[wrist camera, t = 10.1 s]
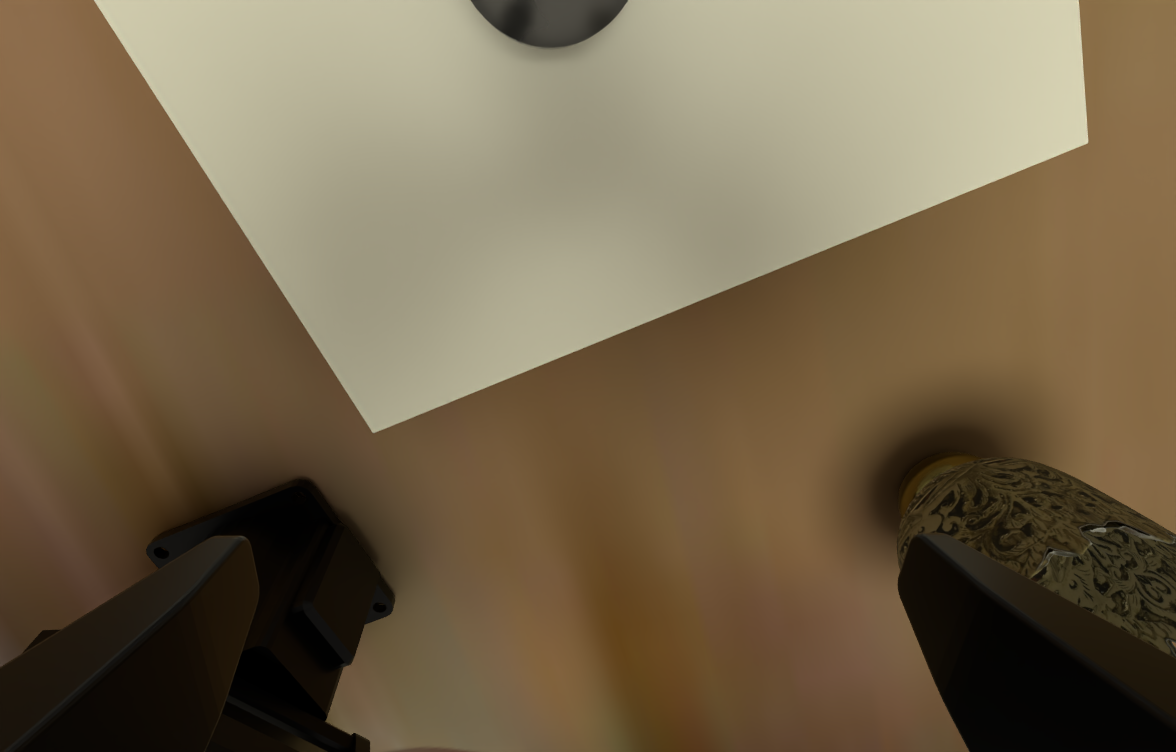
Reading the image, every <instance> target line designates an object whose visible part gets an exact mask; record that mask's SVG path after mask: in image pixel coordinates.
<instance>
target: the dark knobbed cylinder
mask: <svg viewBox="0 0 1176 752" xmlns="http://www.w3.org/2000/svg"><path fill="white" fill-rule="evenodd" d="M627 1H628V0H471V2H472V3H473V5H474V6H475V8H476V9H477V10H478V11H479V12H480V13H481V14H482V16H483V17H484V18H485V19H486V20H487V21H488V22H489V23H490V24H491V25H492V26H493V27H494V28H496V29H497V30H498V31H499V32H500V33H502V34H503V35H505V36H506V37H508V38H509V39H511V40H514V41H516V42H518V43H520V44H523V45H526V46H529V47H533V48H538V49H561V48H566V47H570V46H574V45H576V44H579V43H581V42H583V41H585V40H587V39H589V38H590V37H592V36H593V35H595V34H596V33H598V32H599V31H601V30H602V29H603V28H605V27H606V26H607V25H608V24H609V23H611V21H612V20H613V19H614V18H615V17H616V16H617V15H618V14H619V13H620V11H621V10H622V9H623V7H624V6H625V4H626V3H627Z"/></svg>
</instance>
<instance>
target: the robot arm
mask: <svg viewBox="0 0 1176 752" xmlns="http://www.w3.org/2000/svg"><path fill="white" fill-rule="evenodd" d="M295 492H300V493H303V494H304V495H305V496H306V497H303V498H302V497H299V496H297V495H296V493H295ZM161 547H162V548H165V549H166V550H168V551H165V550H163V549H162V548H161ZM146 552H147V555H148V557H149V558H150V559H151V560H152V561H153V562H154V564H155V565H156V566H157V567H158V568H159V569H158V570H157V571H155V572H154V573H152V574H150V575H149V576H147V577H145V578H144V579H142V580H141V581H139V582H137V583H136V584H134V585H132V586H131V587H129V588H128V589H126V590H124V591H123V592H121V593H120V594H118V595H116V596H115V597H113V598H111V599H110V600H108V601H107V602H105V603H103V604H102V605H100V606H99V607H97V608H95V609H94V610H92V611H90V612H89V613H87V614H86V615H84V616H82V617H81V618H79V619H78V620H76V621H74V622H73V623H71V624H69V625H68V626H66V627H65V628H63V629H61V630H43V631H42V632H41V633H40V634H39V635H38V636H37V637H36V638H35V640H34V641H33V642H32V643H31V644H30V645H29V646H28V648H27V649H26V650H25V651H24V652H23V653H22V654H21V655H19V656H18V657H16V658H14V659H13V660H11V661H10V662H8V663H6V664H5V665H3V666H2V667H0V752H370V741H369V740H368V739H366V738H364V737H362V736H360V735H358V734H356V733H354V734H352V735H350V734H348V733H346V732H344V731H342V730H340V729H339V728H337V727H335V726H333V725H331V724H329V723H327V722H325V721H326V719H327V716H328V713H329V710H330V707H331V704H332V701H333V698H334V694H335V691H336V688H337V685H338V682H339V679H340V676H341V673H342V670H343V667H345V666H348V665H351V663H352V662H353V659H354V656H355V654H356V650H357V647H358V644H359V641H360V638H361V634H362V631H363V628H364V625H365V624H368V623H370V622H373V621H376V620H378V619H381V618H384V617H386V616H388V615H390V614H391V612H392V611H393V608H394V604H395V598H394V595H393V594H392V593H391V591H390V590H389V589H388V587H387V586H386V584H385V583H384V582H383V580H382V579H381V577H380V572H379V571H378V569H377V568H376V566H375V565H374V564H373V562H372V561H371V559H370V558H369V557H368V555H367V554H366V553H365V551H364V550H363V548H362V547H361V546H360V544H359V543H358V541H357V540H356V539H355V537H354V536H353V534H352V533H351V532H350V530H349V529H348V527H347V526H345V525H343V524H342V523H341V522H340V521H339V519H338V518H337V516H336V515H335V514H334V512H333V511H332V509H331V508H330V507H329V505H328V504H327V503H326V501H325V500H324V498H323V497H322V496H321V494H320V493H319V491H318V490H317V489H316V487H315V486H314V485H313V484H312V483H311V482H309V481H306V480H300V479H299V480H294V481H292V482H289V483H287V484H284V485H282V486H279V487H277V488H275V489H272V490H270V491H267V492H265V493H262V494H260V495H257V496H255V497H252V498H250V499H247V500H245V501H242V502H240V503H237V504H235V505H232V506H230V507H227V508H225V509H222V510H220V511H217V512H215V513H213V514H210V515H208V516H205V517H203V518H200V519H198V520H195V521H193V522H190V523H188V524H185V525H183V526H180V527H178V528H175V529H173V530H170V531H168V532H165V533H163V534H160V535H158V536H157V537H155V538H154V539H153V540H152V541H151V543H150V544H149V545H148V547H147V549H146ZM898 591H899V595H900V598H901V601H902V603H903V606H904V608H905V611H906V613H907V616H908V618H909V620H910V623H911V625H912V628H913V630H914V633H915V635H916V638H917V640H918V643H919V645H920V647H921V650H922V652H923V655H924V657H925V660H926V662H927V665H928V667H929V669H930V672H931V674H932V677H933V679H934V682H935V684H936V686H937V688H938V691H939V693H940V695H941V697H942V700H943V702H944V704H945V706H946V708H947V710H948V712H949V714H950V716H951V718H952V719H953V721H954V723H955V725H956V727H957V729H958V731H959V733H960V735H961V737H962V739H963V740H964V742H965V744H966V746H967V748H968V750H969V752H1176V658H1175V657H1173V656H1171V655H1169V654H1167V653H1165V652H1164V651H1162V650H1160V649H1158V648H1156V647H1154V646H1153V645H1151V644H1149V643H1147V642H1145V641H1143V640H1141V639H1140V638H1138V637H1136V636H1134V635H1132V634H1130V633H1129V632H1127V631H1125V630H1123V629H1121V628H1119V627H1117V626H1116V625H1114V624H1112V623H1110V622H1108V621H1106V620H1105V619H1103V618H1101V617H1099V616H1097V615H1095V614H1093V613H1092V612H1090V611H1088V610H1086V609H1084V608H1082V607H1081V606H1079V605H1077V604H1075V603H1073V602H1071V601H1069V600H1068V599H1066V598H1064V597H1062V596H1060V595H1058V594H1057V593H1055V592H1053V591H1051V590H1049V589H1047V588H1045V587H1044V586H1042V585H1040V584H1038V583H1036V582H1034V581H1033V580H1031V579H1029V578H1027V577H1025V576H1023V575H1021V574H1020V573H1018V572H1016V571H1014V570H1012V569H1010V568H1009V567H1007V566H1005V565H1003V564H1001V563H999V562H997V561H996V560H994V559H992V558H990V557H988V556H986V555H985V554H983V553H981V552H979V551H977V550H975V549H973V548H972V547H970V546H968V545H966V544H964V543H962V542H961V541H959V540H957V539H955V538H953V537H951V536H949V535H947V534H944V533H918V534H916V535H914V536H913V537H912V538H911V540H910V542H909V545H908V548H907V551H906V554H905V558H904V561H903V564H902V567H901V570H900V574H899V577H898ZM378 602H380V603H384V604H385V605H380V604H378Z"/></svg>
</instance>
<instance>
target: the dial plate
mask: <svg viewBox="0 0 1176 752" xmlns="http://www.w3.org/2000/svg"><path fill="white" fill-rule="evenodd" d="M94 1H95V3H96V4H97V6H98V7H99V9H100V10H101V12H102V13H103V15H104V16H105V18H106V20H107V21H108V23H109V24H110V26H111V27H112V29H113V30H114V32H115V34H116V35H117V37H118V38H119V40H120V41H121V43H122V44H123V46H124V48H125V49H126V51H127V52H128V54H129V55H130V57H131V58H132V60H133V61H134V63H135V65H136V66H137V68H138V69H139V71H140V72H141V74H142V75H143V77H144V79H145V80H146V82H147V83H148V85H149V86H150V88H151V89H152V91H153V93H154V94H155V96H156V97H157V99H158V100H159V102H160V103H161V105H162V106H163V108H164V110H165V111H166V113H167V114H168V116H169V117H170V119H171V120H172V122H173V124H174V125H175V127H176V128H177V130H178V131H179V133H180V134H181V136H182V137H183V139H184V141H185V142H186V144H187V145H188V147H189V148H190V150H191V151H192V153H193V155H194V156H195V158H196V159H197V161H198V162H199V164H200V165H201V167H202V169H203V170H204V172H205V173H206V175H207V176H208V178H209V179H210V181H211V182H212V184H213V186H214V187H215V189H216V190H217V192H218V193H219V195H220V196H221V198H222V200H223V201H224V203H225V204H226V206H227V207H228V209H229V210H230V212H231V214H232V215H233V217H234V218H235V220H236V221H237V223H238V224H239V226H240V227H241V229H242V231H243V232H244V234H245V235H246V237H247V238H248V240H249V241H250V243H251V245H252V246H253V248H254V249H255V251H256V252H257V254H258V255H259V257H260V258H261V260H262V262H263V263H264V265H265V266H266V268H267V269H268V271H269V272H270V274H271V276H272V277H273V279H274V280H275V282H276V283H277V285H278V286H279V288H280V290H281V291H282V293H283V294H284V296H285V297H286V299H287V300H288V302H289V303H290V305H291V307H292V308H293V310H294V311H295V313H296V314H297V316H298V317H299V319H300V321H301V322H302V324H303V325H304V327H305V328H306V330H307V331H308V333H309V335H310V336H311V338H312V339H313V341H314V342H315V344H316V345H317V347H318V348H319V350H320V352H321V353H322V355H323V356H324V358H325V359H326V361H327V362H328V364H329V366H330V367H331V369H332V370H333V372H334V373H335V375H336V376H337V378H338V379H339V381H340V383H341V384H342V386H343V387H344V389H345V390H346V392H347V393H348V395H349V397H350V398H351V400H352V401H353V403H354V404H355V406H356V407H357V409H358V411H359V412H360V414H361V415H362V417H363V418H364V420H365V421H366V423H367V424H368V426H369V428H370V429H371V431H372V432H373V433H375V432H378V431H380V430H383V429H385V428H388V427H390V426H393V425H395V424H398V423H400V422H402V421H405V420H407V419H410V418H412V417H415V416H417V415H420V414H422V413H425V412H427V411H430V410H432V409H434V408H437V407H439V406H442V405H444V404H447V403H449V402H452V401H454V400H457V399H459V398H462V397H464V396H466V395H469V394H471V393H474V392H476V391H479V390H481V389H484V388H486V387H489V386H491V385H494V384H496V383H498V382H501V381H503V380H506V379H508V378H511V377H513V376H516V375H518V374H521V373H523V372H526V371H528V370H531V369H533V368H535V367H538V366H540V365H543V364H545V363H548V362H550V361H553V360H555V359H558V358H560V357H563V356H565V355H567V354H570V353H572V352H575V351H577V350H580V349H582V348H585V347H587V346H590V345H592V344H595V343H597V342H599V341H602V340H604V339H607V338H609V337H612V336H614V335H617V334H619V333H622V332H624V331H627V330H629V329H631V328H634V327H636V326H639V325H641V324H644V323H646V322H649V321H651V320H654V319H656V318H659V317H661V316H664V315H666V314H668V313H671V312H673V311H676V310H678V309H681V308H683V307H686V306H688V305H691V304H693V303H696V302H698V301H700V300H703V299H705V298H708V297H710V296H713V295H715V294H718V293H720V292H723V291H725V290H728V289H730V288H732V287H735V286H737V285H740V284H742V283H745V282H747V281H750V280H752V279H755V278H757V277H760V276H762V275H764V274H767V273H769V272H772V271H774V270H777V269H779V268H782V267H784V266H787V265H789V264H792V263H794V262H796V261H799V260H801V259H804V258H806V257H809V256H811V255H814V254H816V253H819V252H821V251H824V250H826V249H829V248H831V247H833V246H836V245H838V244H841V243H843V242H846V241H848V240H851V239H853V238H856V237H858V236H861V235H863V234H865V233H868V232H870V231H873V230H875V229H878V228H880V227H883V226H885V225H888V224H890V223H893V222H895V221H897V220H900V219H902V218H905V217H907V216H910V215H912V214H915V213H917V212H920V211H922V210H925V209H927V208H929V207H932V206H934V205H937V204H939V203H942V202H944V201H947V200H949V199H952V198H954V197H957V196H959V195H961V194H964V193H966V192H969V191H971V190H974V189H976V188H979V187H981V186H984V185H986V184H989V183H991V182H994V181H996V180H998V179H1001V178H1003V177H1006V176H1008V175H1011V174H1013V173H1016V172H1018V171H1021V170H1023V169H1026V168H1028V167H1030V166H1033V165H1035V164H1038V163H1040V162H1043V161H1045V160H1048V159H1050V158H1053V157H1055V156H1058V155H1060V154H1062V153H1065V152H1067V151H1070V150H1072V149H1075V148H1077V147H1080V146H1082V145H1085V144H1087V143H1088V132H1087V117H1086V102H1085V87H1084V73H1083V58H1082V43H1081V28H1080V13H1079V0H628V1H627V3H626V4H625V6H624V7H623V9H622V10H621V11H620V13H619V14H618V15H617V16H616V17H615V18H614V19H613V20H612V21H611V23H609V24H608V25H607V26H606V27H605V28H603V29H602V30H601V31H599V32H598V33H596V34H595V35H593V36H592V37H590V38H589V39H587V40H585V41H583V42H581V43H579V44H576V45H574V46H570V47H566V48H561V49H538V48H533V47H529V46H526V45H523V44H520V43H518V42H516V41H514V40H511V39H509V38H508V37H506V36H505V35H503V34H502V33H500V32H499V31H498V30H497V29H496V28H494V27H493V26H492V25H491V24H490V23H489V22H488V21H487V20H486V19H485V18H484V17H483V16H482V14H481V13H480V12H479V11H478V10H477V9H476V8H475V6H474V5H473V3H472V2H471V0H94Z"/></svg>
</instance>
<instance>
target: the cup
mask: <svg viewBox="0 0 1176 752" xmlns="http://www.w3.org/2000/svg"><path fill="white" fill-rule="evenodd" d="M898 506H899V512H900V516H901V518H902V521H901V524H900V527H899V533H898V539H897V554H898V563H899V568H900V570H901V567H902V564H903V561H904V558H905V554H906V551H907V548H908V545H909V542H910V540H911V538H912V537H913V536H914V535H916V534H918V533H944V534H947V535H949V536H951V537H953V538H955V539H957V540H959V541H961V542H962V543H964V544H966V545H968V546H970V547H972V548H973V549H975V550H977V551H979V552H981V553H983V554H985V555H986V556H988V557H990V558H992V559H994V560H996V561H997V562H999V563H1001V564H1003V565H1005V566H1007V567H1009V568H1010V569H1012V570H1014V571H1016V572H1018V573H1020V574H1021V575H1023V576H1025V577H1027V578H1029V579H1031V580H1033V581H1034V582H1036V583H1038V584H1040V585H1042V586H1044V587H1045V588H1047V589H1049V590H1051V591H1053V592H1055V593H1057V594H1058V595H1060V596H1062V597H1064V598H1066V599H1068V600H1069V601H1071V602H1073V603H1075V604H1077V605H1079V606H1081V607H1082V608H1084V609H1086V610H1088V611H1090V612H1092V613H1093V614H1095V615H1097V616H1099V617H1101V618H1103V619H1105V620H1106V621H1108V622H1110V623H1112V624H1114V625H1116V626H1117V627H1119V628H1121V629H1123V630H1125V631H1127V632H1129V633H1130V634H1132V635H1134V636H1136V637H1138V638H1140V639H1141V640H1143V641H1145V642H1147V643H1149V644H1151V645H1153V646H1154V647H1156V648H1158V649H1160V650H1162V651H1164V652H1165V653H1167V654H1169V655H1171V656H1173V657H1175V658H1176V648H1175V646H1174V645H1173V644H1172V641H1173V642H1175V643H1176V534H1174V533H1172V532H1171V531H1169V530H1167V529H1165V528H1164V527H1162V526H1160V525H1159V524H1157V523H1155V522H1153V521H1152V520H1150V519H1148V518H1147V517H1145V516H1143V515H1141V514H1140V513H1138V512H1136V511H1134V510H1133V509H1131V508H1129V507H1128V506H1126V505H1124V504H1122V503H1120V502H1119V501H1117V500H1115V499H1113V498H1112V497H1110V496H1108V495H1106V494H1105V493H1103V492H1101V491H1099V490H1097V489H1096V488H1094V487H1092V486H1090V485H1088V484H1086V483H1084V482H1083V481H1081V480H1079V479H1077V478H1075V477H1073V476H1071V475H1068V474H1066V473H1064V472H1062V471H1059V470H1057V469H1054V468H1052V467H1049V466H1046V465H1044V464H1041V463H1037V462H1033V461H1028V460H1024V459H1017V458H985V459H982V458H980V457H977V456H975V455H971V454H967V453H962V452H944V453H939V454H935V455H933V456H930V457H928V458H926V459H924V460H923V461H921V462H919V463H918V464H917V465H916V466H914V467H913V468H912V469H911V470H910V471H909V472H908V474H907V475H906V476H905V478H904V479H903V481H902V483H901V486H900V489H899V493H898Z"/></svg>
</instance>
